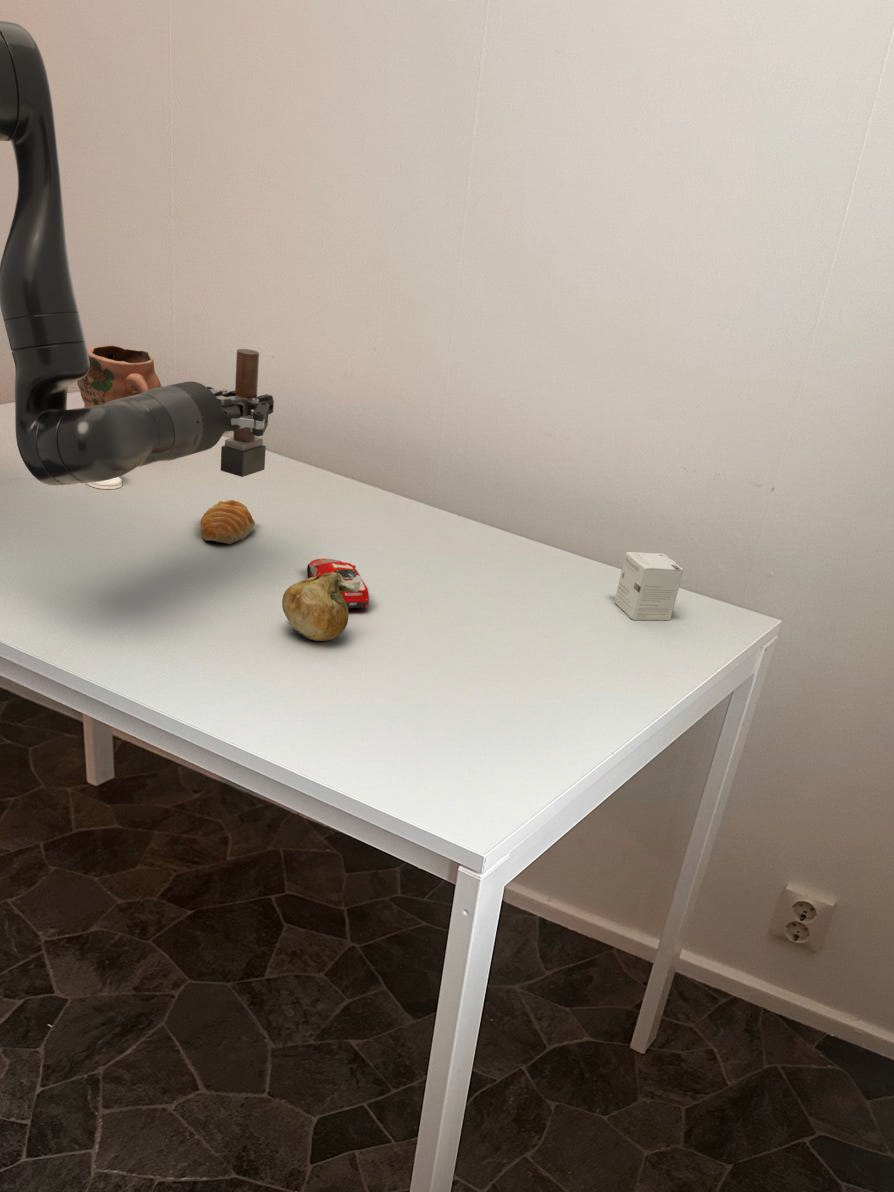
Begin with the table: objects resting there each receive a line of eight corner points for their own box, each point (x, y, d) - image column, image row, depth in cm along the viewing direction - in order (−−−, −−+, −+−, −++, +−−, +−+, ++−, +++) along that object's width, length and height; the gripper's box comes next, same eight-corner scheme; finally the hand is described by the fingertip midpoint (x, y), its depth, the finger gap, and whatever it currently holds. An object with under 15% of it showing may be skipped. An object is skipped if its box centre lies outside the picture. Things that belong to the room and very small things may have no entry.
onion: (304, 617, 142) (309, 552, 137) (360, 637, 139) (367, 572, 135) (266, 634, 136) (270, 567, 132) (324, 656, 133) (330, 589, 129)
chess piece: (104, 491, 169) (102, 419, 163) (79, 482, 170) (76, 410, 165) (129, 485, 172) (128, 415, 167) (104, 476, 174) (102, 406, 169)
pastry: (239, 550, 157) (240, 522, 155) (189, 542, 157) (189, 514, 155) (256, 529, 165) (257, 502, 163) (208, 521, 165) (209, 494, 163)
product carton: (613, 602, 162) (624, 550, 158) (651, 603, 164) (664, 552, 160) (632, 620, 157) (644, 567, 153) (672, 621, 160) (685, 568, 156)
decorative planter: (189, 461, 186) (190, 369, 179) (117, 466, 179) (116, 370, 171) (126, 425, 198) (125, 337, 190) (56, 429, 190) (52, 337, 183)
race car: (302, 574, 153) (304, 544, 151) (342, 574, 156) (345, 545, 153) (329, 614, 144) (332, 582, 141) (372, 614, 146) (375, 583, 143)
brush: (242, 477, 145) (247, 356, 137) (220, 470, 146) (224, 350, 138) (264, 469, 149) (271, 352, 141) (243, 463, 150) (248, 346, 142)
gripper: (227, 402, 128) (310, 381, 141) (121, 372, 131) (212, 355, 145) (225, 471, 132) (305, 445, 145) (122, 440, 135) (210, 418, 149)
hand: (258, 400), depth 145 cm, fingers closed on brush, 2 cm apart
